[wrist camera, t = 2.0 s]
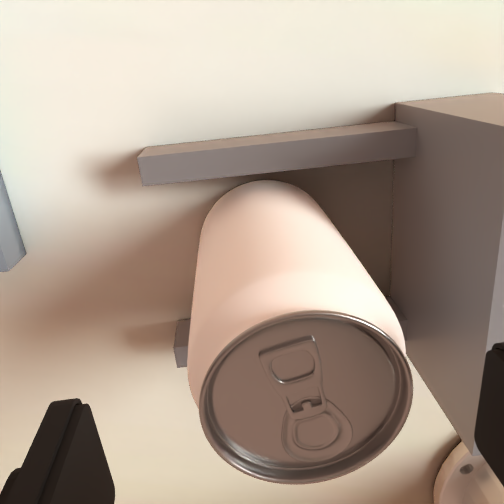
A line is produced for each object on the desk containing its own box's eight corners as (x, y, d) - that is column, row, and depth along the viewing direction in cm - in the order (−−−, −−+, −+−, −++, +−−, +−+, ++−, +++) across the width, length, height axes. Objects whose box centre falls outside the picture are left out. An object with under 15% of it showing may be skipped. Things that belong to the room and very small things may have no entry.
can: (224, 312, 24) (229, 521, 13) (180, 201, 22) (140, 344, 11) (341, 275, 24) (446, 458, 13) (309, 158, 21) (407, 260, 10)
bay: (468, 318, 25) (589, 441, 17) (183, 351, 25) (165, 495, 17) (492, 92, 21) (674, 111, 12) (143, 129, 20) (90, 173, 12)
